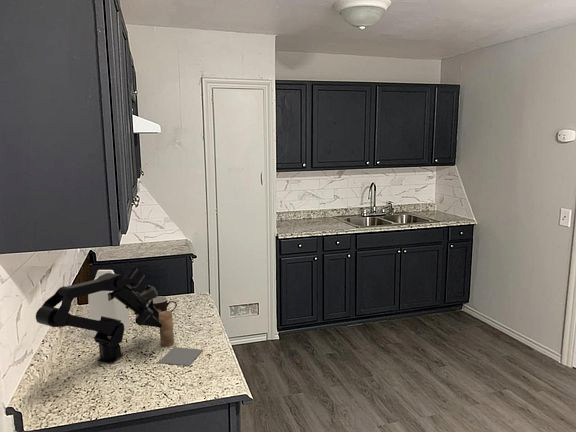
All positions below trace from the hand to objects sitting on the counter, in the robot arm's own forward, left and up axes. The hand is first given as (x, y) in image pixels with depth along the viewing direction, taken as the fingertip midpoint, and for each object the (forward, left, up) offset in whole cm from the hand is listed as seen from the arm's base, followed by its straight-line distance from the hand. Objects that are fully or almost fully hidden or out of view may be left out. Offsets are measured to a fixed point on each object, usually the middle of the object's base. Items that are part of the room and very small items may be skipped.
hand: (161, 322), depth 172 cm
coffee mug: (-11, +20, -9) cm, 25 cm away
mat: (+12, -8, -9) cm, 17 cm away
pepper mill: (+2, +1, -9) cm, 9 cm away
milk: (-28, +8, -9) cm, 31 cm away
